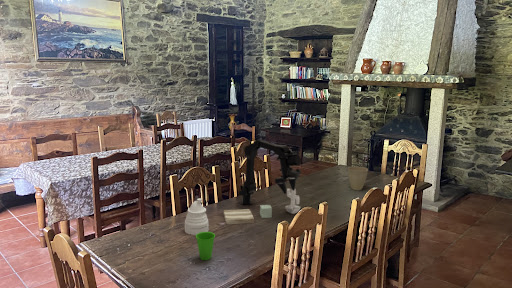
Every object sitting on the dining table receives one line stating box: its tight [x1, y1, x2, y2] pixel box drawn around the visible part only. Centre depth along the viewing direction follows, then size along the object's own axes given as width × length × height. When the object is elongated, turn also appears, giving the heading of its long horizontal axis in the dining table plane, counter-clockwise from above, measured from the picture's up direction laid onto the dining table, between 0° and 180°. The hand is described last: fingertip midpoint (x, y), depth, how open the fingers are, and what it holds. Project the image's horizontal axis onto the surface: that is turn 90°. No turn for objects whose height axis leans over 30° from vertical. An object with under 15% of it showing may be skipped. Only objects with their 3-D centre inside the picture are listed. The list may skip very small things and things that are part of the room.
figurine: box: [284, 188, 302, 215], centre depth 241 cm, size 7×9×15 cm
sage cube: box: [259, 204, 273, 219], centre depth 235 cm, size 6×6×6 cm
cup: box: [195, 231, 216, 261], centre depth 180 cm, size 9×9×11 cm
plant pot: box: [347, 166, 369, 191], centre depth 293 cm, size 15×15×16 cm
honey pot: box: [184, 198, 209, 236], centre depth 211 cm, size 13×13×18 cm
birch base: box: [223, 208, 255, 225], centre depth 230 cm, size 16×16×2 cm
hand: (289, 192), depth 233 cm, fingers open, 9 cm apart
